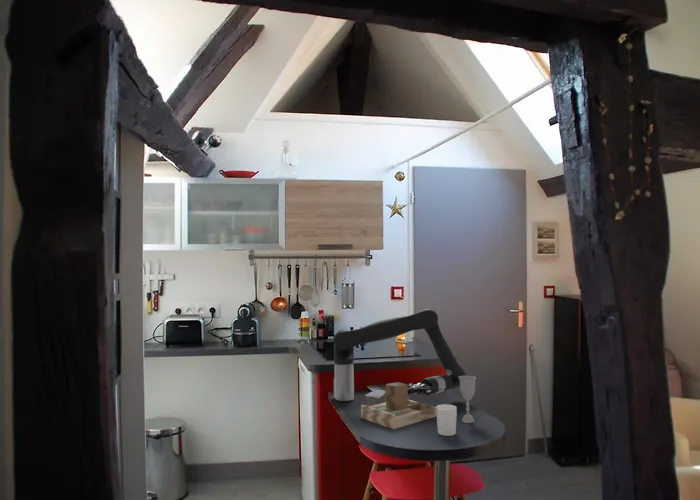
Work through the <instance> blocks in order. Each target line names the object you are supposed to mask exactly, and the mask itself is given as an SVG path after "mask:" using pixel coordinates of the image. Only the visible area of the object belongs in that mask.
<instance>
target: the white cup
mask: <svg viewBox="0 0 700 500" xmlns="http://www.w3.org/2000/svg"><path fill="white" fill-rule="evenodd" d="M435 407H436V426H437V433H438V434H439V435H441V436H447V437H449V436H450V437H451V436H454V435H456V433H457V432H456V431H457V430H456V429H457V416H458V415H457V411H458V409H457V406H456V405H453V404H445V403H443V404H438V405H436V406H435Z"/></svg>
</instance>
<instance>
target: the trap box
mask: <svg viewBox="0 0 700 500" xmlns="http://www.w3.org/2000/svg"><path fill="white" fill-rule="evenodd" d="M435 417H436V418H437V415H436V406H433V405H430V404H426V403H422V402H418V401H414V400H411V399H408V408H406V409H402V410H397V411H395V410H391V409H388V408H386V402H385V403H381V404H377V405H373V406H366V404H361V405H360V419H362V420H366V421H369V422H372V423H374V424H378V425H381V426H383V427H387V428H389V429H392V430H395V429H400V428H402V427H406V426H410V425H413V424H416V423H419V422H423V421H426V420H430V419H432V418H435Z"/></svg>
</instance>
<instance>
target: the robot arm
mask: <svg viewBox="0 0 700 500" xmlns="http://www.w3.org/2000/svg"><path fill="white" fill-rule="evenodd" d="M438 322H439V315H438V313H437V312H436V311H435V310H433V309H430V308H426V309H425V308H424V309H422V310H421V311H418V312H415V313H413V314H409V315H406V316H397V317H391V318H385V319H382V320H379V321H375V322H373V323H371V324H368V325H366V326H363V327H360V328H357V329H353V330H348V329H340V330H338V331H337V332H336V333H335V335H334V337H333V340H332V341H333V345H334V364H333V365H334V378H333V398H334V400H336V401H339V402H340V401H341V402H348V401H352V400H354V399H355V385H354V384H355V380H354V379H355V376H354V374H355V373H354V356H355V355H354V352H355V351H354V348H355V347H357V346H359V345H363V344H368V343H375V342H380V341H384V340H388V339H393V338H395V337H399V336H401V335H404V334H407V333H409V332H412V331H418V330H423V329H424V331H425V332H426V334H427V336H428V338H429V339H430V342H431V343H432V346H433V349H434V351H435V353H436V356H437V359H438V361H439V363H440V365H441V367H442V368H443V370H445V371H446V370H447V371H450V372H451V373H448V374H441V375H435V376H429V377H425V378H423V379H421V381H420V382H417V383H416V384H413V383H412V382H410V383H409V384H408V395H412V394H414V395H415V394H417V395H425V396H432V395H437V394H440V393H441V392H444V391H445V392H446V391H449V390H453V389H457V388H458V389H459V388H460V379H459V378H458V377H459V376H468V375H467V373H466V372H465V370H464V369H463V367H462V366H461V365H460V364H459V363H458V362H457V360H456V358H455V355H454V353H453V352H452V349H451V348H450V346H449V345H448V342H447V341H446V339H445V337H444V335H443V333H442V332H441V328H440V325H439V323H438Z"/></svg>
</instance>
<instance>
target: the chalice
mask: <svg viewBox="0 0 700 500" xmlns="http://www.w3.org/2000/svg"><path fill="white" fill-rule="evenodd" d="M458 378H459V379H460V387H459V390H460V394H461V396H462V397H463V399H464V400H465V401H466V403H465V406H466V408H465V410H466V414H464V415H463V417H462V420H461V422H463V423H464V424H465V423H466V424H473V423H475V419H474V417H473V415H472V414H470V410H471V409H470V406H471V404H470V400H472V399H473V397H474V394H475V392H476V379H477V377H476V376H473V375H467V376H459V377H458ZM472 422H473V423H472Z"/></svg>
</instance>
